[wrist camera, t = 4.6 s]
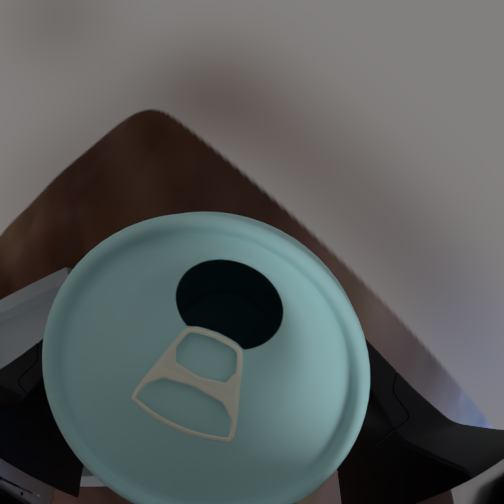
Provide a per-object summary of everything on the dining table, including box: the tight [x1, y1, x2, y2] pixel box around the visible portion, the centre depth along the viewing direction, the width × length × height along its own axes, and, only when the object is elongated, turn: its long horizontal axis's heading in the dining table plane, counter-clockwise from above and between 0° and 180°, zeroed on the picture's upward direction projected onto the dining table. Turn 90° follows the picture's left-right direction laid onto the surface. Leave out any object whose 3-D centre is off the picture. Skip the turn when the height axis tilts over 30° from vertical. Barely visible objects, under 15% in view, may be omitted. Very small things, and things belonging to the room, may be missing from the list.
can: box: [42, 212, 370, 504], centre depth 10 cm, size 7×7×12 cm
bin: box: [0, 267, 106, 487], centre depth 12 cm, size 13×13×3 cm
